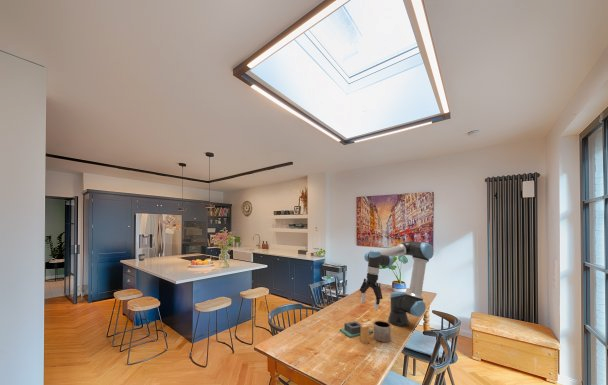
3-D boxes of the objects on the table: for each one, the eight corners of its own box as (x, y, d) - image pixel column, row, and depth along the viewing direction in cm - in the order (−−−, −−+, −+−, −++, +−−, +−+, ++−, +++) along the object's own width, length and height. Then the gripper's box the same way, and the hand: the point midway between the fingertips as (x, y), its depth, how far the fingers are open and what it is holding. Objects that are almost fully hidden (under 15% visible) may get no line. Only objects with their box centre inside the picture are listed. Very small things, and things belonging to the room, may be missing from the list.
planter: (379, 343, 165) (379, 328, 166) (370, 335, 175) (370, 321, 176) (393, 341, 168) (393, 326, 169) (384, 334, 178) (384, 320, 179)
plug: (365, 340, 169) (365, 324, 170) (368, 342, 166) (368, 326, 167) (360, 341, 167) (360, 325, 168) (363, 343, 164) (363, 327, 165)
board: (361, 326, 190) (362, 319, 191) (372, 333, 180) (372, 325, 180) (339, 330, 182) (339, 323, 182) (349, 338, 171) (349, 329, 172)
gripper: (357, 269, 184) (353, 300, 180) (381, 277, 161) (377, 312, 158) (365, 270, 187) (361, 300, 184) (390, 277, 165) (386, 312, 161)
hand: (369, 306), depth 171 cm, fingers open, 13 cm apart
